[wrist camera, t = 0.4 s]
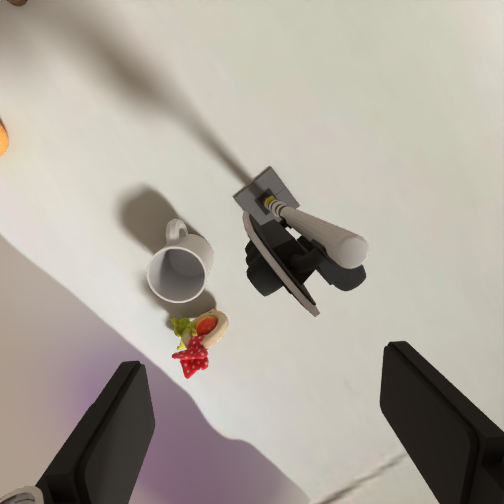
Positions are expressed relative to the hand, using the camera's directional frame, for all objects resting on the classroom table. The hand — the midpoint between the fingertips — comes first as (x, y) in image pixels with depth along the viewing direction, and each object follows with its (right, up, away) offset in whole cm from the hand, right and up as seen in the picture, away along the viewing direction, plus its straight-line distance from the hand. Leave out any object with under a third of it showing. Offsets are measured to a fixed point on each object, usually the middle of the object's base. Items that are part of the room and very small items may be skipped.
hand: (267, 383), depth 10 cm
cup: (-10, +6, +29) cm, 32 cm away
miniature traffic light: (+2, +12, +28) cm, 31 cm away
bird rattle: (-9, -6, +32) cm, 34 cm away
